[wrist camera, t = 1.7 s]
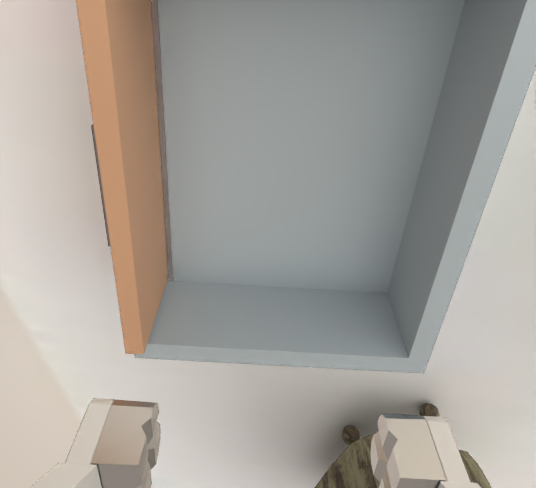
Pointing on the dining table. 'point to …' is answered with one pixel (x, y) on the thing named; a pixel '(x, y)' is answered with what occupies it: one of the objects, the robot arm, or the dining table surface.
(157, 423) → the robot arm
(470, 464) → the tabletop clock
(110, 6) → the panel
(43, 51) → the dining table surface
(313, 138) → the blue-grey open tray
